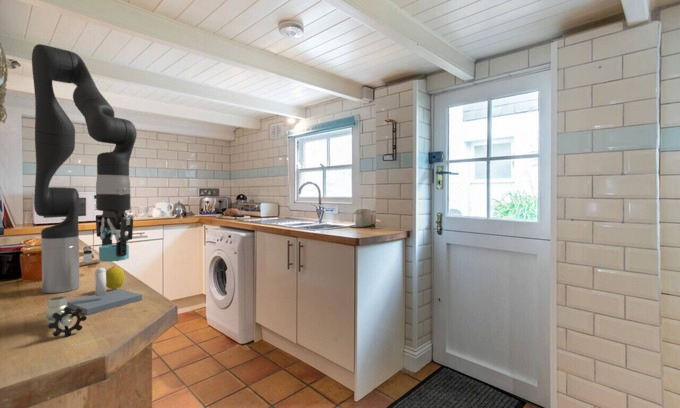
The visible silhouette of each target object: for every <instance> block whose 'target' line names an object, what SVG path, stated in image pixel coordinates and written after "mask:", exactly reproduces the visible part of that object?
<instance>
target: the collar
mask: <svg viewBox="0 0 680 408" xmlns="http://www.w3.org/2000/svg"><path fill="white" fill-rule="evenodd" d="M129 249H130V245H129V244H127V254H126V256H121V257H118V256H116V243H115V244H114V243H112V245H104V246H102V245H100V246H98V260H99V262H104V263H105V262H107V263H109V262H110V263H111V262H119V261H125V260H128V259H129V258H130V254H129V253H130V252H129V251H130V250H129Z"/></svg>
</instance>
